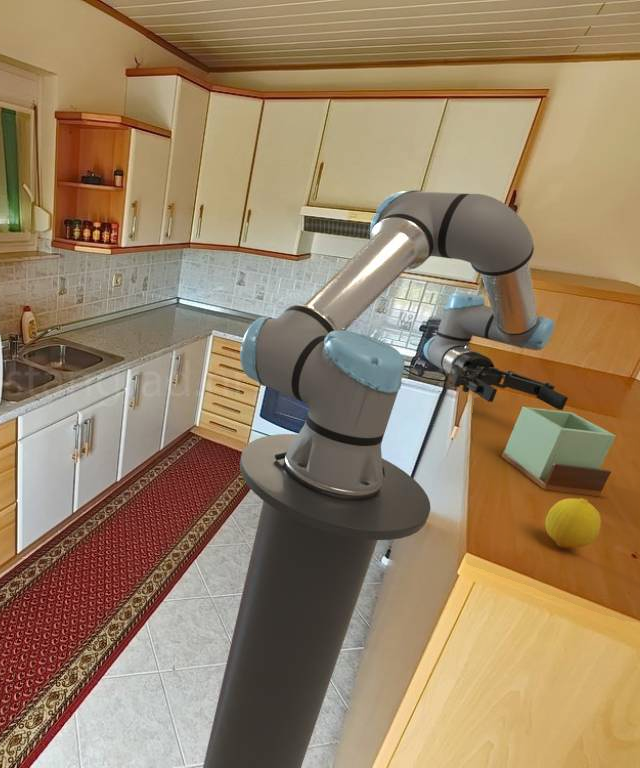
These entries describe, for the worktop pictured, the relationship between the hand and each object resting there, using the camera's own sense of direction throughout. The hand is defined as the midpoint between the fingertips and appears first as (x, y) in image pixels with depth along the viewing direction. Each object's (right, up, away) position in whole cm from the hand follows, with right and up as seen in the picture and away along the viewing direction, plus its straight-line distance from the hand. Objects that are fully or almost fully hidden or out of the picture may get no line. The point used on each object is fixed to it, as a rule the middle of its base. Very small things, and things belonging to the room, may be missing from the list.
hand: (528, 399), depth 97 cm
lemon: (-18, -20, -27) cm, 39 cm away
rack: (-2, -14, -7) cm, 15 cm away
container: (-2, -12, -6) cm, 14 cm away
